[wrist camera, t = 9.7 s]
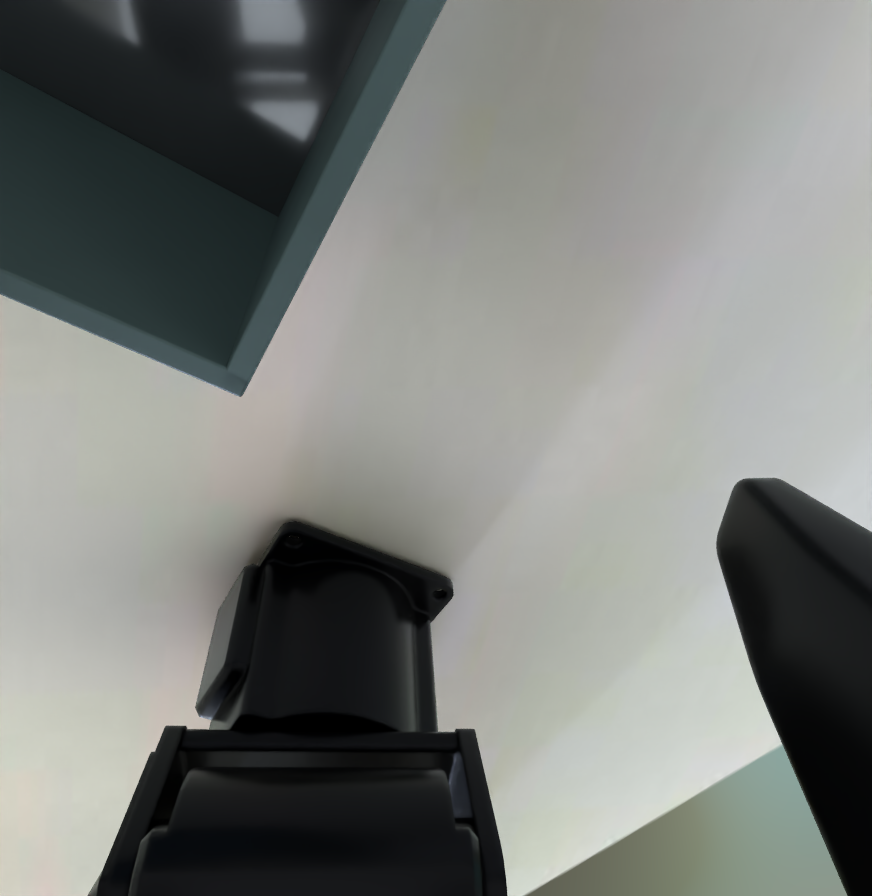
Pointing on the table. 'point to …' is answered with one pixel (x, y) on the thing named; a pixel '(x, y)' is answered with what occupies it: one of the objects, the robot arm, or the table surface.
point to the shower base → (195, 76)
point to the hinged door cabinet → (180, 218)
